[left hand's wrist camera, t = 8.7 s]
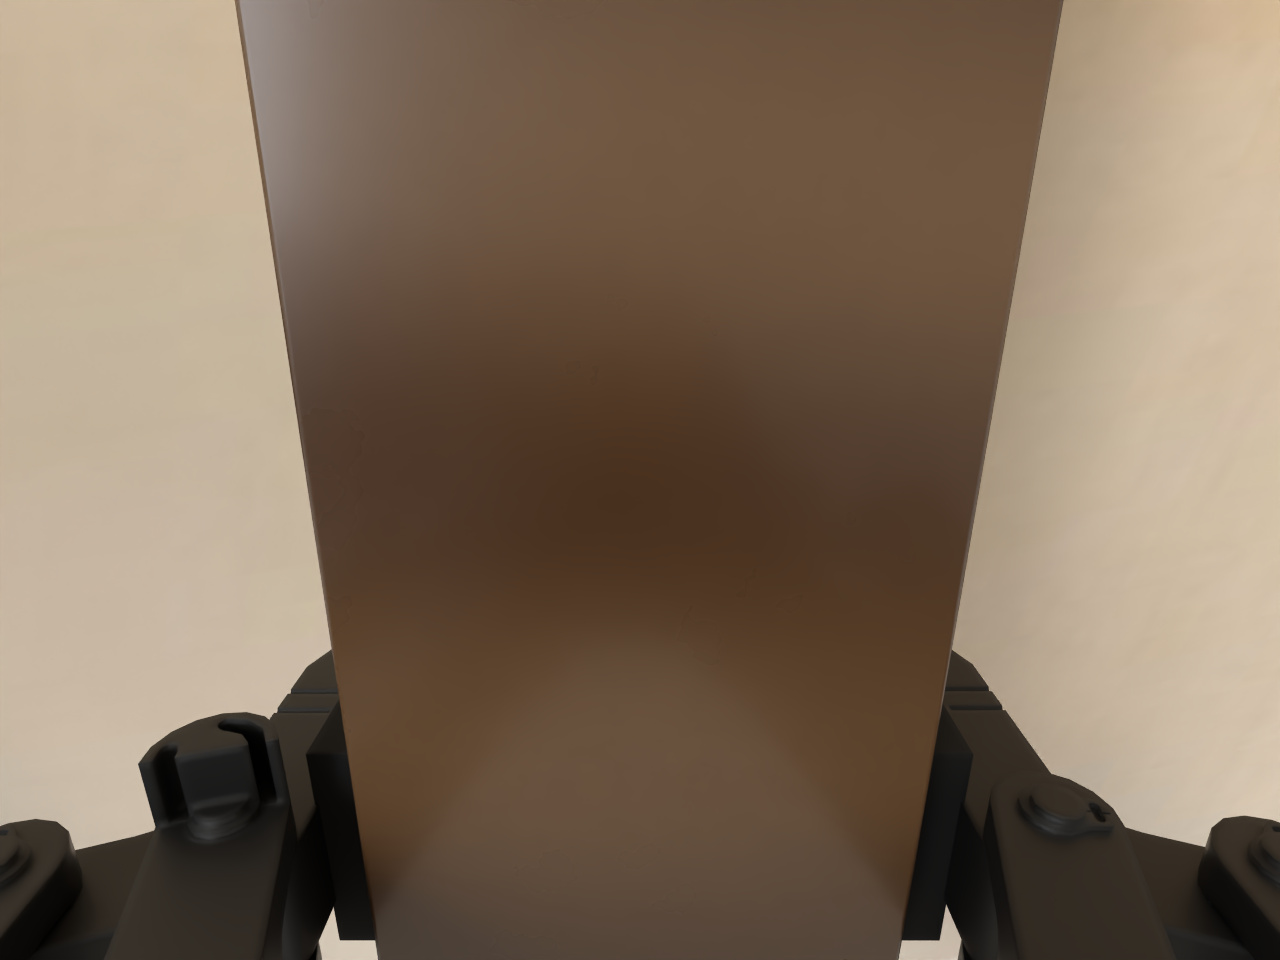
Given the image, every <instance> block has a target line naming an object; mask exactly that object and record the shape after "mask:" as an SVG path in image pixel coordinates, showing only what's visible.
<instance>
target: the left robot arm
mask: <svg viewBox="0 0 1280 960" xmlns="http://www.w3.org/2000/svg"><path fill="white" fill-rule="evenodd" d="M138 765H139V769H140V772H141V776H142V780H143V783H144V787H145V790H146V794H147V798H148V801H149V805H150V808H151V812H152V816H153V819H154V823H155V826H156V827H155V830H154V831H151V832H148V833H145V834H142V835H138V836H135V837H130V838H126V839H122V840H118V841H113V842H109V843H105V844H100V845H96V846H92V847H88V848H83V849H79V850H75V849H74V846H73V843H72V840H71V837H70V834H69V831H68V830H66V829H65V828H64V827H63V826H61V825H60V824H59V823H58V822H55V821H47V820H39V819H33V820H27V821H20V822H14V823H8V824H5V825H2V826H0V960H322V956H321V951H320V945H319V939H320V937H321V934H322V932H323V930H324V928H325V925H326V923H327V921H328V918H329V916H330V914H331V911H332V909H333V907H334V911H335V917H336V922H337V927H338V933H339V938H340V940H375V935H374V928H373V921H372V915H371V908H370V901H369V894H368V888H367V881H366V874H365V868H364V861H363V854H362V848H361V841H360V834H359V828H358V821H357V814H356V807H355V801H354V794H353V787H352V781H351V774H350V767H349V761H348V754H347V747H346V741H345V734H344V727H343V720H342V714H341V707H340V700H339V694H338V687H337V680H336V674H335V667H334V660H333V654H332V650H330V651H329V652H327V653H326V654H325V655H323V656H322V657H320V658H319V659H318V660H316V661H315V662H313V663H312V664H310V665H309V666H308V667H307V668H306V669H305V671H304V672H303V673H302V675H301V676H300V678H299V679H298V680H297V682H296V683H295V685H294V686H293V687H292V689H291V694H287V696H286V697H285V699H284V700H283V701H282V703H281V704H280V706H279V707H278V712H277V713H274V714H273V715H272V717H271V718H270V720H269V719H267V718H266V717H265V716H261V715H256V714H252V713H248V712H242V713H224V714H219V715H215V716H211V717H208V718H204V719H200V720H196V721H194V722H192V723H190V724H188V725H186V726H183V727H181V728H179V729H177V730H175V731H173V732H171V733H170V734H168V735H167V736H165V737H164V738H163V739H161V740H160V741H159V742H157V743H156V744H155V745H153V746H152V747H151V748H150V749H149V750H148V752H147V753H146V754H145V756H144V757H143V758H142V760H141V761H140V762H139V764H138ZM946 905H947V907H948V909H949V912H950V914H951V916H952V918H953V921H954V923H955V925H956V928H957V930H958V932H959V934H960V937H961V939H962V940H961V945H960V951H959V956H958V960H1280V823H1279V822H1276V821H1273V820H1269V819H1262V818H1256V817H1250V816H1238V817H1230V818H1223V819H1222V820H1221V821H1220V822H1218V823H1217V824H1216V825H1215V826H1213V827H1212V828H1211V831H1210V834H1209V838H1208V841H1207V844H1206V847H1202V846H1198V845H1193V844H1189V843H1185V842H1180V841H1176V840H1172V839H1167V838H1163V837H1159V836H1154V835H1150V834H1146V833H1142V832H1139V831H1135V830H1132V829H1129V828H1126V827H1125V826H1124V825H1123V823H1122V822H1121V820H1120V818H1119V817H1118V815H1117V814H1116V812H1115V811H1114V809H1113V808H1112V807H1111V806H1110V805H1108V804H1107V803H1106V802H1105V801H1104V800H1102V799H1101V798H1100V797H1099V796H1098V795H1096V794H1095V793H1094V792H1093V791H1091V790H1089V789H1087V788H1085V787H1083V786H1081V785H1079V784H1077V783H1075V782H1073V781H1072V780H1070V779H1067V778H1063V777H1060V776H1056V775H1053V774H1051V773H1050V772H1049V770H1048V769H1047V767H1046V766H1045V765H1044V763H1043V762H1042V760H1041V759H1040V758H1039V756H1038V755H1037V754H1036V752H1035V751H1034V749H1033V748H1032V747H1031V745H1030V744H1029V742H1028V741H1027V740H1026V738H1025V737H1024V735H1023V734H1022V733H1021V731H1020V730H1019V728H1018V727H1017V726H1016V724H1015V723H1014V722H1013V720H1012V719H1011V717H1010V716H1009V715H1008V713H1007V712H1006V710H1002V705H1001V703H1000V702H999V701H998V699H997V698H996V696H995V695H994V694H993V692H992V691H989V687H988V685H987V684H986V683H985V681H984V680H983V678H982V677H981V676H980V674H979V673H978V671H977V670H976V669H975V667H974V666H973V664H971V663H970V662H968V661H967V660H965V659H964V658H963V657H961V656H960V655H958V654H957V653H956V652H954V651H953V650H952V651H951V656H950V662H949V668H948V674H947V680H946V686H945V691H944V697H943V703H942V709H941V715H940V720H939V726H938V732H937V738H936V744H935V750H934V755H933V761H932V767H931V773H930V779H929V784H928V790H927V796H926V802H925V808H924V814H923V819H922V825H921V831H920V837H919V843H918V848H917V854H916V860H915V866H914V872H913V878H912V883H911V889H910V895H909V901H908V907H907V912H906V918H905V924H904V930H903V936H902V940H940V935H941V929H942V924H943V918H944V913H945V908H946Z"/></svg>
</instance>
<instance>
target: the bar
mask: <svg viewBox="0 0 1280 960" xmlns="http://www.w3.org/2000/svg"><path fill="white" fill-rule="evenodd" d="M235 4H236V11H237V18H238V25H239V31H240V38H241V45H242V51H243V58H244V65H245V71H246V78H247V85H248V91H249V98H250V105H251V112H252V118H253V125H254V132H255V138H256V145H257V152H258V158H259V165H260V172H261V178H262V185H263V192H264V198H265V205H266V212H267V219H268V225H269V232H270V239H271V245H272V252H273V259H274V265H275V272H276V279H277V285H278V292H279V299H280V306H281V312H282V319H283V326H284V332H285V339H286V346H287V352H288V359H289V366H290V372H291V379H292V386H293V393H294V399H295V406H296V413H297V419H298V426H299V433H300V439H301V446H302V453H303V459H304V466H305V473H306V480H307V486H308V493H309V500H310V506H311V513H312V520H313V526H314V533H315V540H316V546H317V553H318V560H319V567H320V573H321V580H322V587H323V593H324V600H325V607H326V613H327V620H328V627H329V633H330V640H331V647H332V654H333V660H334V667H335V674H336V680H337V687H338V694H339V700H340V707H341V714H342V720H343V727H344V734H345V741H346V747H347V754H348V761H349V767H350V774H351V781H352V787H353V794H354V801H355V807H356V814H357V821H358V828H359V834H360V841H361V848H362V854H363V861H364V868H365V874H366V881H367V888H368V894H369V901H370V908H371V915H372V921H373V928H374V935H375V941H376V948H377V955H378V960H898V959H899V953H900V947H901V941H902V936H903V930H904V924H905V918H906V912H907V907H908V901H909V895H910V889H911V883H912V878H913V872H914V866H915V860H916V854H917V848H918V843H919V837H920V831H921V825H922V819H923V814H924V808H925V802H926V796H927V790H928V784H929V779H930V773H931V767H932V761H933V755H934V750H935V744H936V738H937V732H938V726H939V720H940V715H941V709H942V703H943V697H944V691H945V686H946V680H947V674H948V668H949V662H950V656H951V651H952V645H953V639H954V633H955V627H956V622H957V616H958V610H959V604H960V598H961V592H962V587H963V581H964V575H965V569H966V563H967V558H968V552H969V546H970V540H971V534H972V528H973V523H974V517H975V511H976V505H977V499H978V494H979V488H980V482H981V476H982V470H983V465H984V459H985V453H986V447H987V441H988V435H989V430H990V424H991V418H992V412H993V406H994V401H995V395H996V389H997V383H998V377H999V371H1000V366H1001V360H1002V354H1003V348H1004V342H1005V337H1006V331H1007V325H1008V319H1009V313H1010V307H1011V302H1012V296H1013V290H1014V284H1015V278H1016V273H1017V267H1018V261H1019V255H1020V249H1021V243H1022V238H1023V232H1024V226H1025V220H1026V214H1027V209H1028V203H1029V197H1030V191H1031V185H1032V179H1033V174H1034V168H1035V162H1036V156H1037V150H1038V145H1039V139H1040V133H1041V127H1042V121H1043V115H1044V110H1045V104H1046V98H1047V92H1048V86H1049V81H1050V75H1051V69H1052V63H1053V57H1054V51H1055V46H1056V40H1057V34H1058V28H1059V22H1060V17H1061V11H1062V5H1063V0H235Z"/></svg>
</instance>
